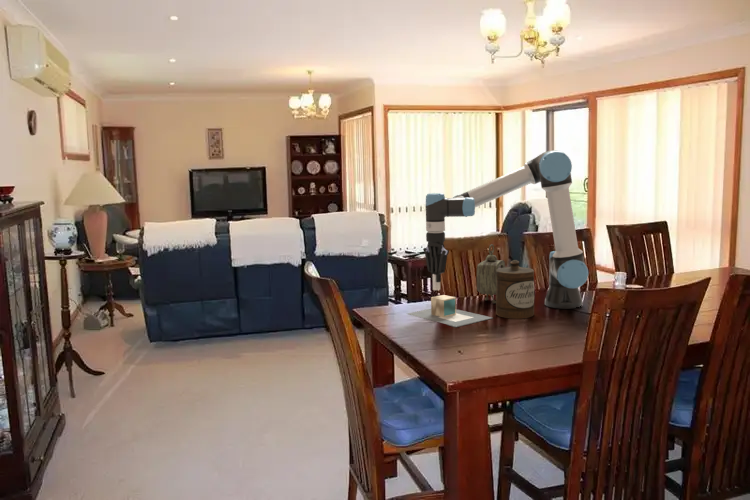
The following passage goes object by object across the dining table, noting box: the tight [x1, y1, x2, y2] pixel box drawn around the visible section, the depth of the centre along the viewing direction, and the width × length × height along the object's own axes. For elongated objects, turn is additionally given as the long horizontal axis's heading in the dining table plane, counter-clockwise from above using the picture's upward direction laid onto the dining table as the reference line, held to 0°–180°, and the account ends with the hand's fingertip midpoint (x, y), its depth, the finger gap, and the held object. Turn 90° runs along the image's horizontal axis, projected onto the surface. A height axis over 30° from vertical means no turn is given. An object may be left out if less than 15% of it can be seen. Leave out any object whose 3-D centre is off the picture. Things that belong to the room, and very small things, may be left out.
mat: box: [407, 308, 493, 328], centre depth 261 cm, size 29×20×1 cm
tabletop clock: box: [476, 243, 506, 304], centre depth 285 cm, size 14×9×25 cm, turn 154°
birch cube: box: [430, 294, 457, 317], centre depth 263 cm, size 7×7×7 cm
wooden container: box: [495, 259, 535, 320], centre depth 259 cm, size 15×15×22 cm
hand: (436, 289), depth 265 cm, fingers closed
